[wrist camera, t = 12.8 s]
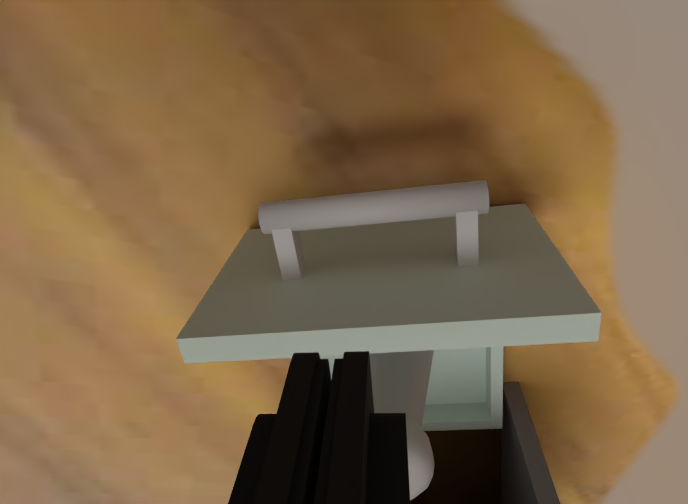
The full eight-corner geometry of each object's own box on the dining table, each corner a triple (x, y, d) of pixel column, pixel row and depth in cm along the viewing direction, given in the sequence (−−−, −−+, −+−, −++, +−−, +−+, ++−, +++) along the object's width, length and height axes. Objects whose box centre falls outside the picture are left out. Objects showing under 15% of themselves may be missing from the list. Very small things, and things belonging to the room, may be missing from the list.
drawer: (232, 171, 30) (146, 258, 19) (527, 137, 28) (612, 217, 17) (292, 408, 39) (255, 557, 28) (518, 399, 36) (571, 559, 26)
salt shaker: (447, 303, 32) (478, 467, 20) (408, 362, 35) (417, 538, 23) (368, 269, 31) (355, 420, 20) (335, 332, 34) (306, 498, 22)
